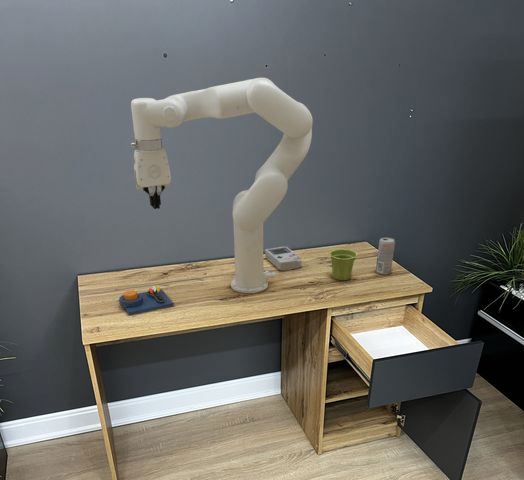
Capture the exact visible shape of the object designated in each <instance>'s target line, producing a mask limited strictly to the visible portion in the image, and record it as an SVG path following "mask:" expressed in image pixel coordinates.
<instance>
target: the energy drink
mask: <svg viewBox="0 0 524 480" xmlns="http://www.w3.org/2000/svg"><path fill="white" fill-rule="evenodd" d="M395 245H396V241H395V239H394V238H393V237H381V238H379V241H378V247H377V256H376V265H375V273H376V274H379V275H383V276H384V275H385V276H386V275H390V274H391V273H392V267H393V259H394V252H395Z"/></svg>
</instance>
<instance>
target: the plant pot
mask: <svg viewBox="0 0 524 480" xmlns="http://www.w3.org/2000/svg"><path fill="white" fill-rule="evenodd" d="M328 253H329V257H330V260H331V269H332V270H331V271H332V278H333V279H334V280H337V281H338V280H340V281H347V280H349V279H350V278H351V276H352V271H353V268H354V263H355V261H356V258H357V256H358V253H357V252H356V251H354V250H351V249H347V248H337V249H333V250H331V251H329V252H328Z"/></svg>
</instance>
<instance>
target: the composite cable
mask: <svg viewBox="0 0 524 480" xmlns="http://www.w3.org/2000/svg"><path fill="white" fill-rule="evenodd" d="M160 289H161V287H160V286H156V285H155V284H154V285H153V286H152V287H148V289H147V291H146V292H147V293H146V294H147V295H148V296H151V297H154V298H155V299H156V301H157V302H158V303H164V302H165V300H164V298H163V297H160V296H158V293H159V291H160ZM158 299H160V300H162V301H160V300H158Z"/></svg>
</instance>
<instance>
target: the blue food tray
mask: <svg viewBox="0 0 524 480" xmlns="http://www.w3.org/2000/svg"><path fill="white" fill-rule="evenodd" d="M146 293H147V291H142V292H137V297H138V298H137V299H136V300H133V301H126V300H125V299H124V294H122V295H120V296H119V299H118V300H119V305H120V306H121V307H123V308H124V309H125V312H126V313H127V314H128V316H133V315H134V316H135V315H139V314H143V313H148V312H152V311H157V310H161V309H166V308H172V307H174V303H173V302H172V300H171V298H170V297H169V296H168V294H166V292H165V291H164V290H163V289H162V288H160V291H159V293H158V296H160V297H163V298H164V300H165V302H164V303H158V302H157V301H156V299H155V298H154V297H151V296H148V295H147V294H146ZM158 300H160V299H158ZM160 301H162V300H160Z"/></svg>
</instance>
